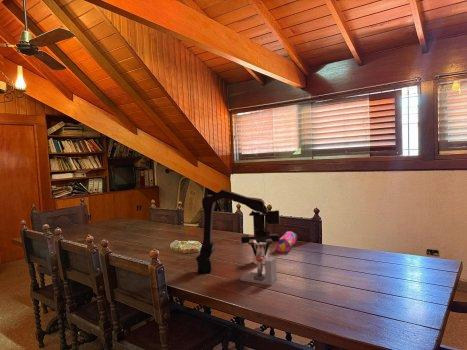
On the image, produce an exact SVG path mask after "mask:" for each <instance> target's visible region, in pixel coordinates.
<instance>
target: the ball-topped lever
mask: <svg viewBox="0 0 467 350" xmlns="http://www.w3.org/2000/svg"><path fill="white" fill-rule="evenodd" d="M256 260H257V264H256V268H257V274H255V275H254V279H258V280H264V279H266V278H265V274H263V268H264V264H263V257H262V256H258V257H256Z"/></svg>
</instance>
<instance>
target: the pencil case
mask: <svg viewBox="0 0 467 350" xmlns="http://www.w3.org/2000/svg"><path fill="white" fill-rule="evenodd" d="M297 240H298V236H297V234H296V233H295V232H293V231H291V230H290V231H286V232H285V233H284V234H283V235H282V236H281V237H279V241H277V242H276V245H275V248H276V251H278V252H279V253H282V254H283V253H285V254H286V253H288V252H289V250H291V249H292V247H293V246H294V244H295V243H296V242H297Z"/></svg>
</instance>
